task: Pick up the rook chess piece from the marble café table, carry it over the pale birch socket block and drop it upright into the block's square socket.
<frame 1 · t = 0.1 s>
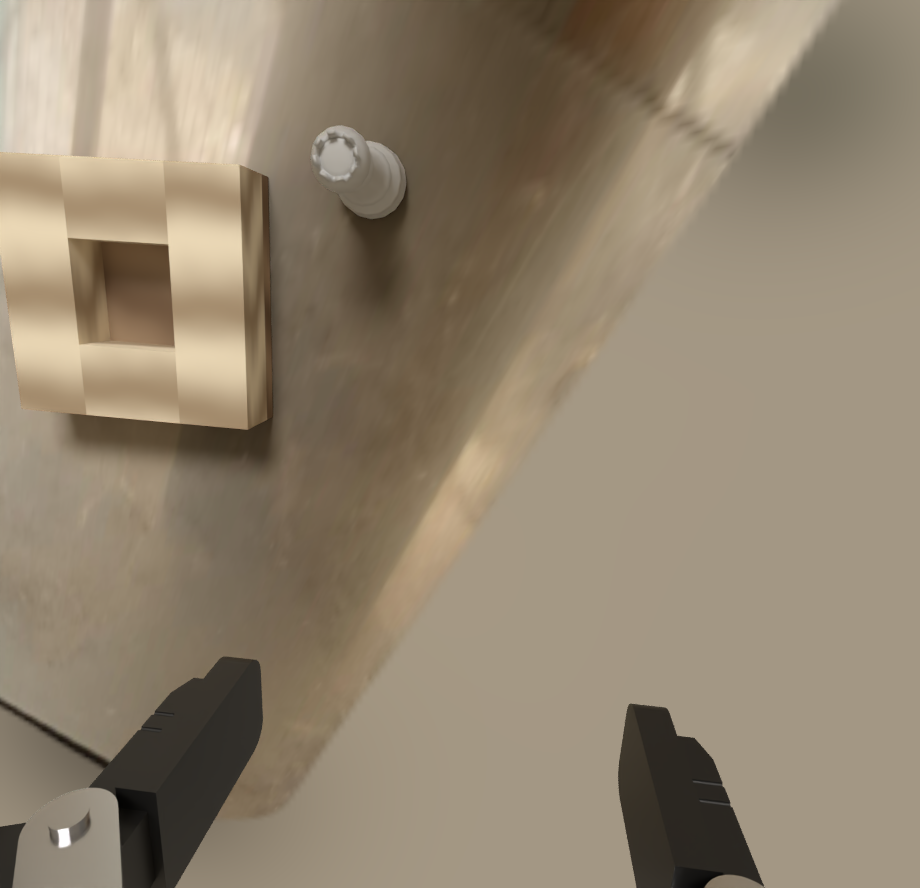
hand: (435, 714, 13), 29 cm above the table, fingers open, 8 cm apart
socket block: (160, 295, 41), on the table
rook chess piece: (374, 183, 38), on the table
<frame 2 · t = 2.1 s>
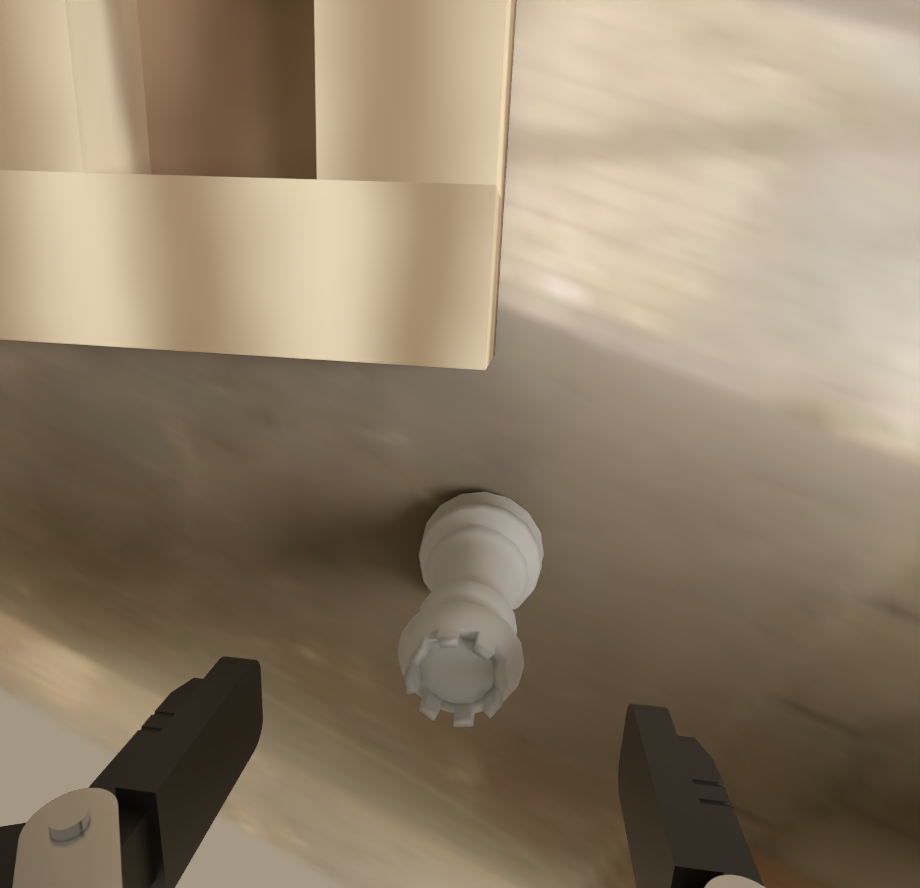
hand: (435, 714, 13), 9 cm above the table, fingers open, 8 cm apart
socket block: (259, 87, 19), on the table
rook chess piece: (483, 541, 22), on the table
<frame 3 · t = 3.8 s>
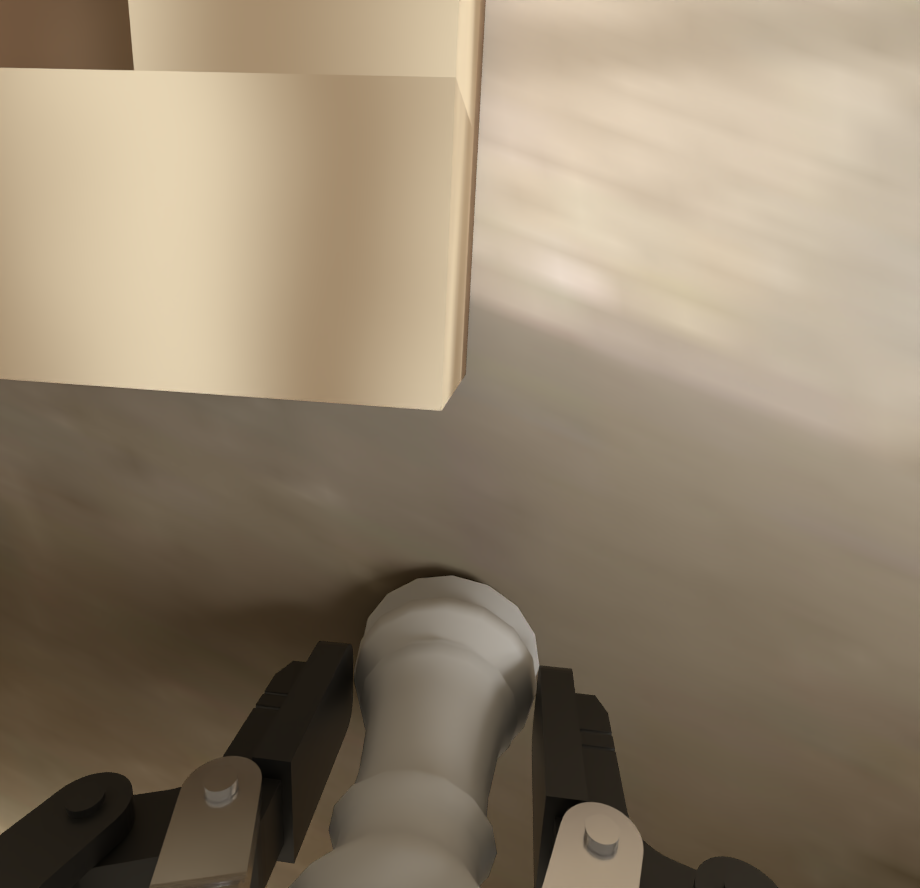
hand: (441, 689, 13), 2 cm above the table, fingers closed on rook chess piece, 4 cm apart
rook chess piece: (452, 640, 15), on the table, touching gripper
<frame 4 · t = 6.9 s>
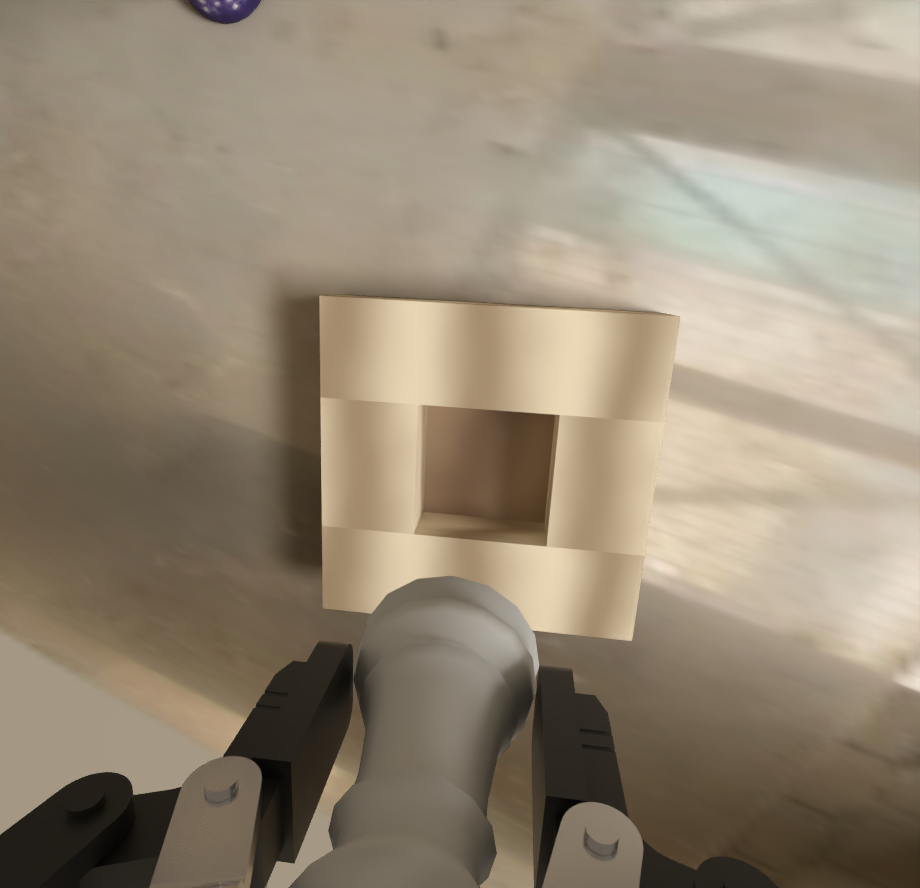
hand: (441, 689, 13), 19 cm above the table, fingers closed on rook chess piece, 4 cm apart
socket block: (488, 454, 32), on the table
rook chess piece: (452, 640, 15), point 17 cm above the table, touching gripper
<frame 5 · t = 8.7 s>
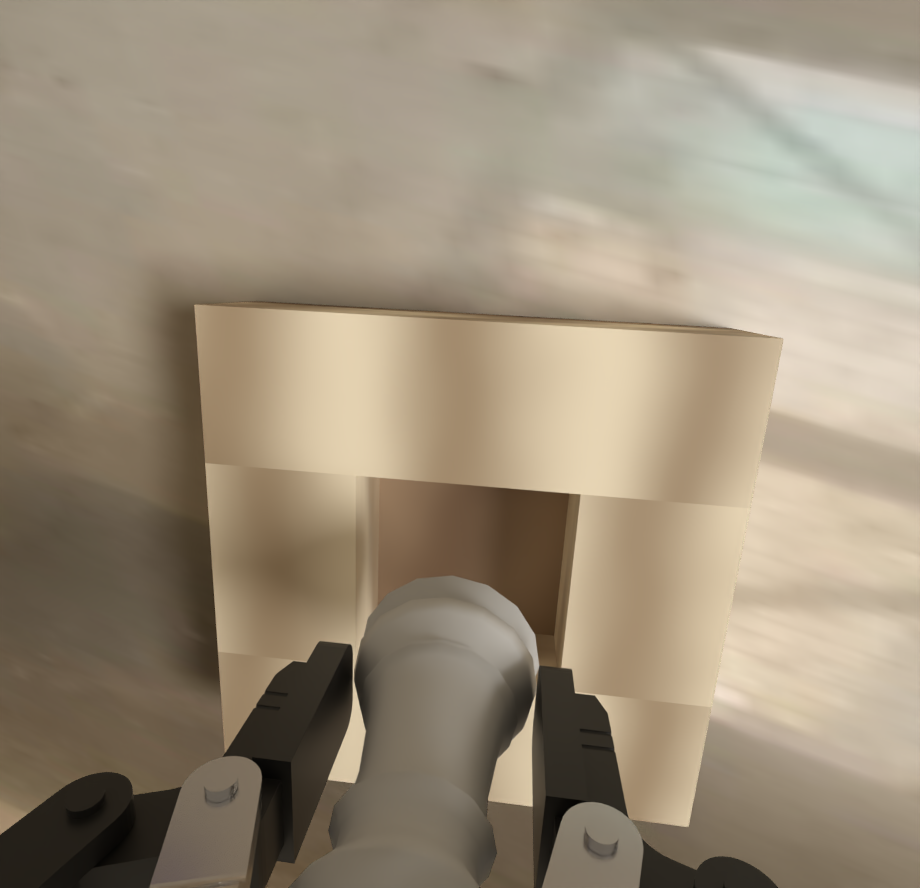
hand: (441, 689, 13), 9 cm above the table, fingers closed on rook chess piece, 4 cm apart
socket block: (471, 533, 22), on the table
rook chess piece: (452, 640, 15), point 7 cm above the table, touching gripper
when the fingers open (7 cm above the table, at t = 10.0 s): rook chess piece drops 4 cm, resting on socket block.
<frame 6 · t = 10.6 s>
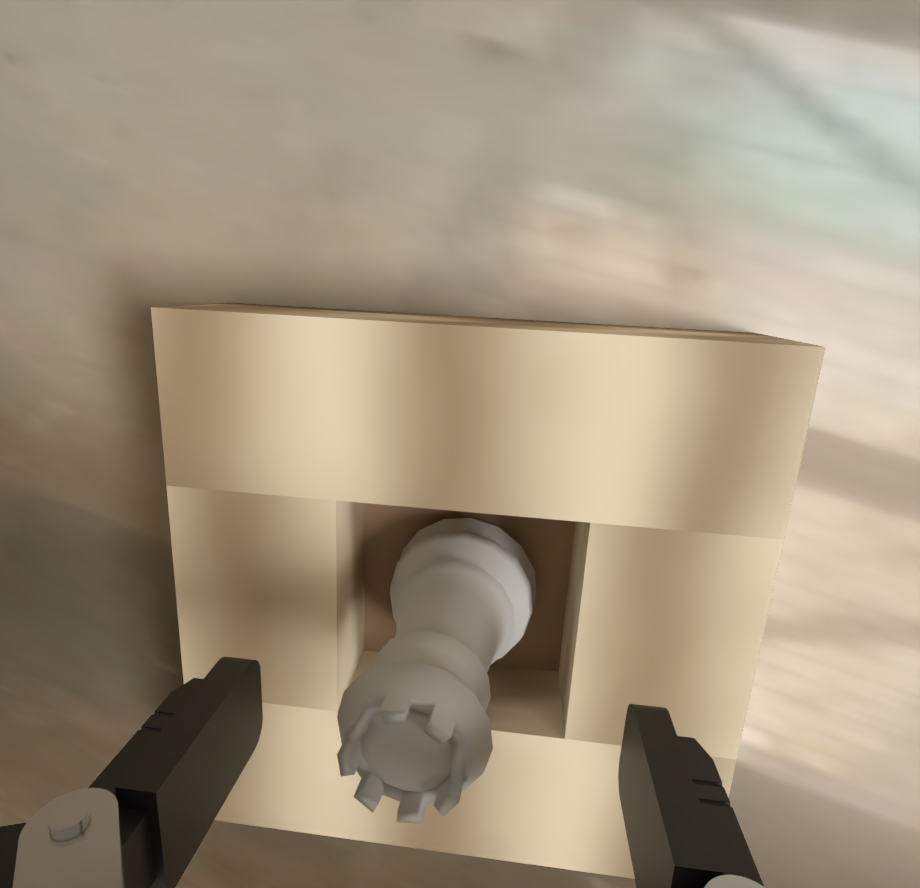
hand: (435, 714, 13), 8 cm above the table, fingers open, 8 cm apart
socket block: (467, 558, 20), on the table
rook chess piece: (468, 575, 19), point 1 cm above the table, touching socket block
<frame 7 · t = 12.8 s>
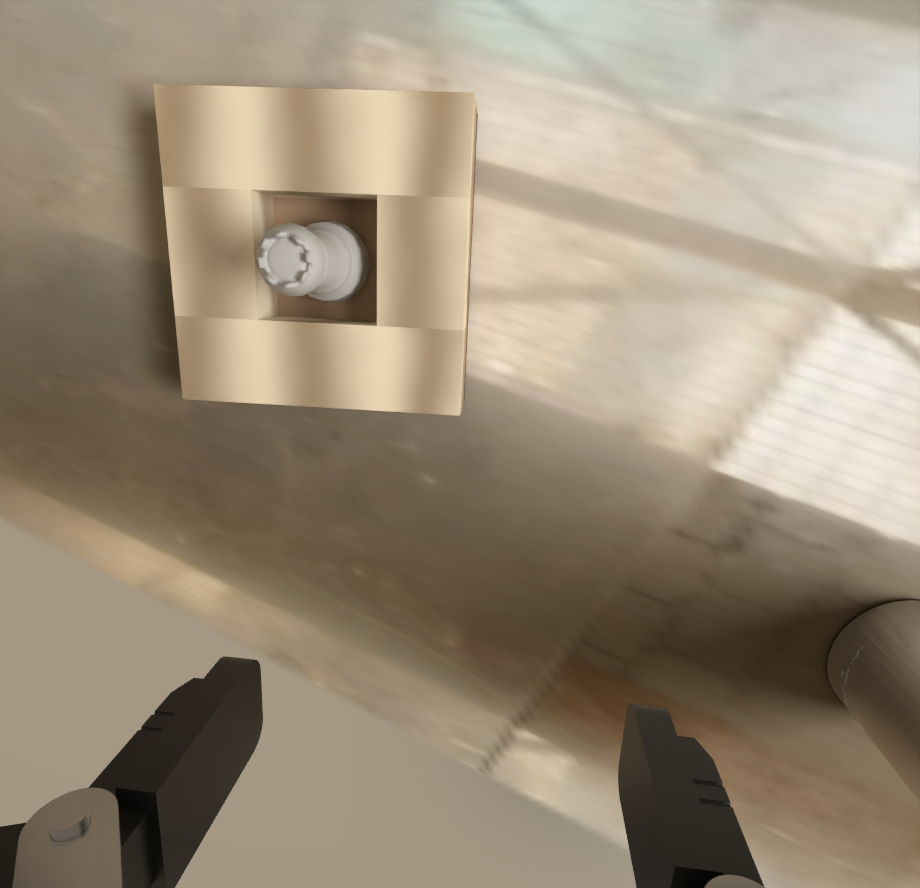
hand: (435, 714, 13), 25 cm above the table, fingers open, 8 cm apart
socket block: (336, 261, 35), on the table
rook chess piece: (334, 262, 34), point 1 cm above the table, touching socket block
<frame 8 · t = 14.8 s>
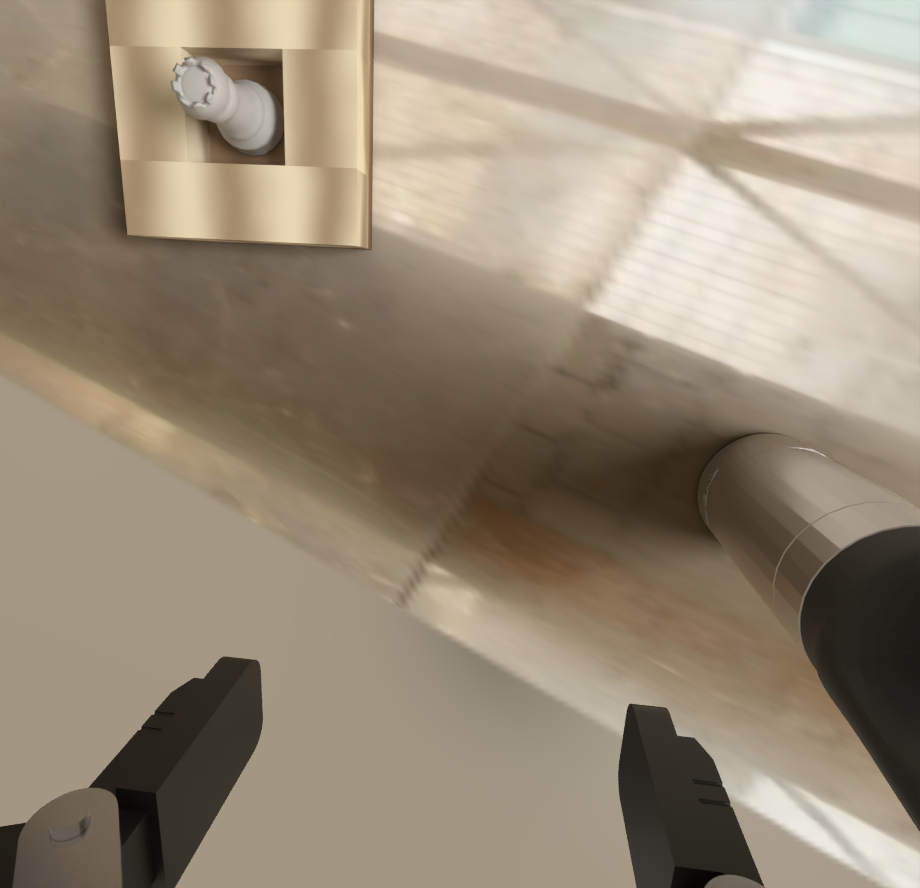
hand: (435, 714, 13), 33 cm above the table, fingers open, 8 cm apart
socket block: (260, 124, 41), on the table
rook chess piece: (257, 122, 40), point 1 cm above the table, touching socket block
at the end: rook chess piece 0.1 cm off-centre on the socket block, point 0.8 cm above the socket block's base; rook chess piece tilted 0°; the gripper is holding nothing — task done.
